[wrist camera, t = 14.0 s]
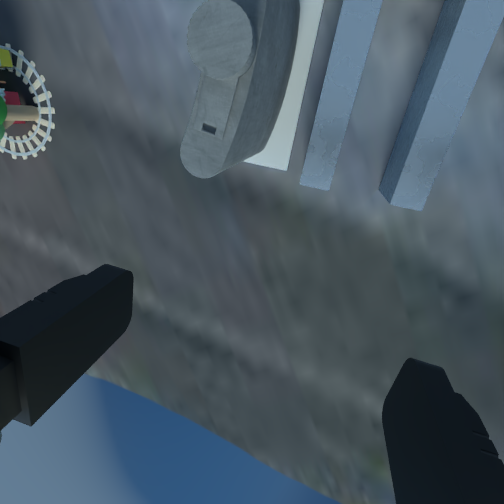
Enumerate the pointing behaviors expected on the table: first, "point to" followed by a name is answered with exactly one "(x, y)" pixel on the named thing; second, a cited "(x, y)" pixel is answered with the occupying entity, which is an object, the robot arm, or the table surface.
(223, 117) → the hip flask
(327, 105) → the vise
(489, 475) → the robot arm
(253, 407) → the table surface
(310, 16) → the mat
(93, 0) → the table surface
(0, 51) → the train set
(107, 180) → the table surface
